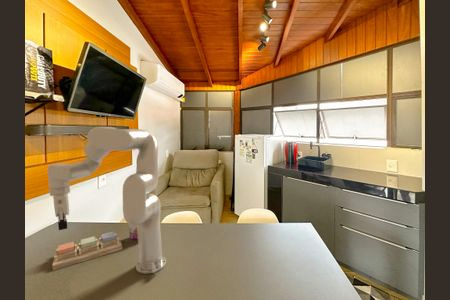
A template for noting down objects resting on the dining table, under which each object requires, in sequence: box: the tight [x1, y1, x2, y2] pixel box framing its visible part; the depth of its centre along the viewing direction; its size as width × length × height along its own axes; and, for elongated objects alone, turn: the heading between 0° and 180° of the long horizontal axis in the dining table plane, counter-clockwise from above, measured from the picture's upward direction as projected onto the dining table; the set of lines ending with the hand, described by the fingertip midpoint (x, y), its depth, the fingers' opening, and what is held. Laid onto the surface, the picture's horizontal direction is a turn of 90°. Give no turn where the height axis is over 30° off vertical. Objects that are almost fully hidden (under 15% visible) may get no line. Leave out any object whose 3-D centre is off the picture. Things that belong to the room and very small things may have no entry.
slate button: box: [101, 230, 116, 243], centre depth 115 cm, size 6×6×3 cm
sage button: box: [80, 235, 96, 249], centre depth 110 cm, size 6×6×3 cm
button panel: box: [52, 233, 123, 271], centre depth 110 cm, size 14×28×4 cm, turn 124°
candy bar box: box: [128, 224, 138, 240], centre depth 123 cm, size 11×5×16 cm, turn 84°
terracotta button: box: [57, 241, 75, 255], centre depth 105 cm, size 6×6×3 cm
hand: (63, 228), depth 104 cm, fingers closed
